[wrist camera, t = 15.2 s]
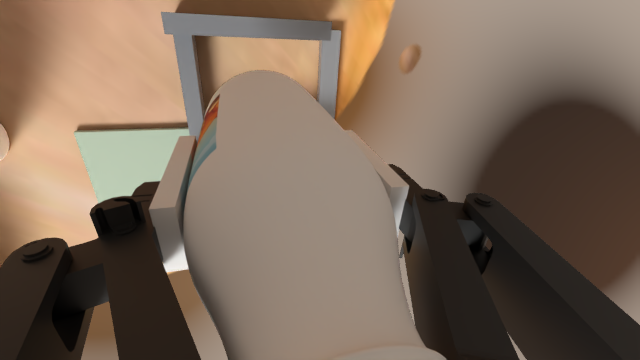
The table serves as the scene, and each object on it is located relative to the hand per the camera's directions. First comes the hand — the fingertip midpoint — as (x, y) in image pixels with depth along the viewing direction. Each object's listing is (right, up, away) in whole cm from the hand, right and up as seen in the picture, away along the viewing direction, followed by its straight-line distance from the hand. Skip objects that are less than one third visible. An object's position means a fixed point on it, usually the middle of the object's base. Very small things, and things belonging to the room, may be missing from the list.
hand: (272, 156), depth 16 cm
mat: (-16, -2, +19) cm, 24 cm away
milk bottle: (-1, +3, +5) cm, 5 cm away
